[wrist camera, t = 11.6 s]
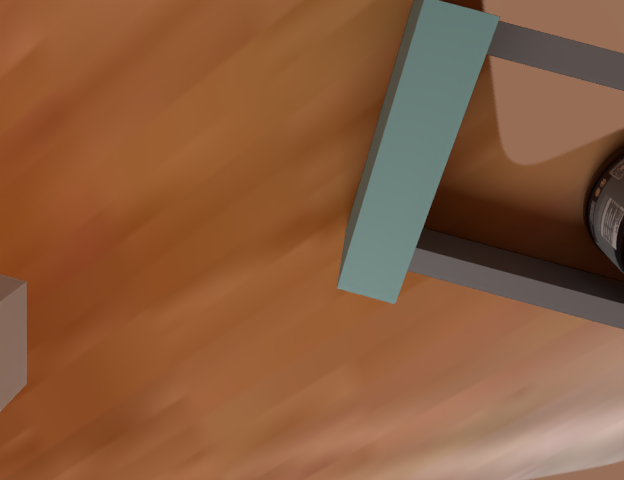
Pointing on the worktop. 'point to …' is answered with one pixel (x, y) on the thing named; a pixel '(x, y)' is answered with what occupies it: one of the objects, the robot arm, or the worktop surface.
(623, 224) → the supplement container
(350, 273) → the gray open tray
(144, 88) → the worktop surface
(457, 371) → the worktop surface
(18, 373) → the robot arm
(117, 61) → the worktop surface
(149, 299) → the worktop surface
